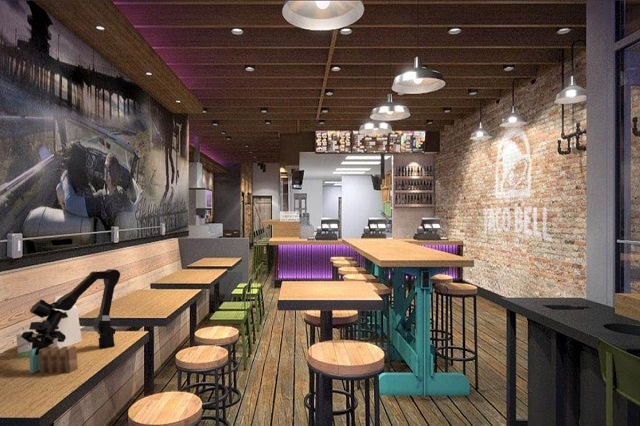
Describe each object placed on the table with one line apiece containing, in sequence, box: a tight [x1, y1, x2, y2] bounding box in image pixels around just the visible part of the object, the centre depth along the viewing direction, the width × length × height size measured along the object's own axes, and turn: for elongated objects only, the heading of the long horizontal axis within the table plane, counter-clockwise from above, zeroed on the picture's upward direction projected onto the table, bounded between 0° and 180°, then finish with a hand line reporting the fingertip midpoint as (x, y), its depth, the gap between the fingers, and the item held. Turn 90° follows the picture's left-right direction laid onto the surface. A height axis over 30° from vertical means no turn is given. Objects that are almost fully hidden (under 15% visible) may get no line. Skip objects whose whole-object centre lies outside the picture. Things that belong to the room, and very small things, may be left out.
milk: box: [48, 294, 83, 349], centre depth 223 cm, size 12×12×26 cm
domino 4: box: [56, 346, 69, 374], centre depth 182 cm, size 2×4×10 cm, turn 170°
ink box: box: [15, 329, 34, 359], centre depth 209 cm, size 8×5×12 cm, turn 19°
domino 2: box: [39, 346, 51, 374], centre depth 183 cm, size 2×4×10 cm, turn 170°
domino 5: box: [65, 345, 79, 374], centre depth 181 cm, size 2×4×10 cm, turn 170°
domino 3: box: [47, 347, 60, 374], centre depth 183 cm, size 2×4×10 cm, turn 170°
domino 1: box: [28, 347, 40, 374], centre depth 183 cm, size 2×4×10 cm, turn 170°
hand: (33, 354), depth 183 cm, fingers closed on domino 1, 2 cm apart
